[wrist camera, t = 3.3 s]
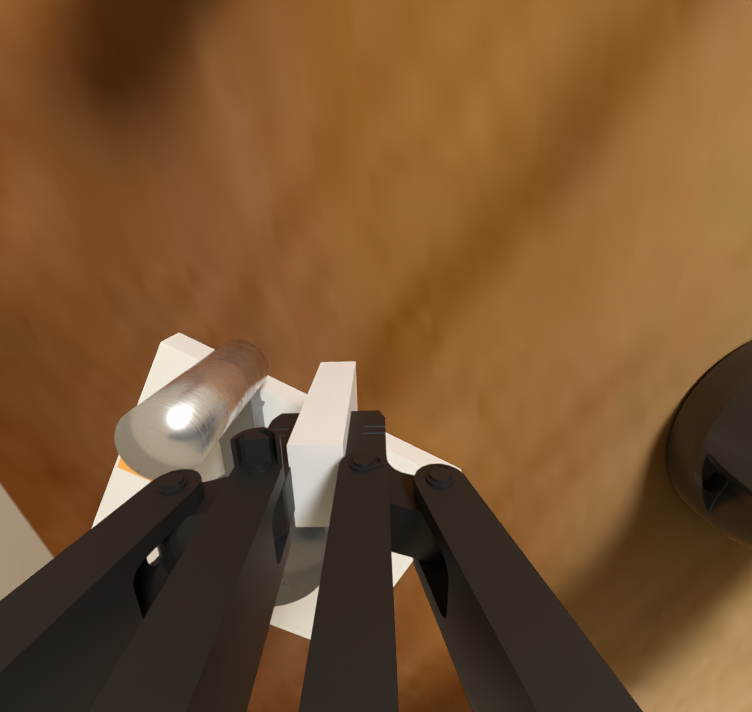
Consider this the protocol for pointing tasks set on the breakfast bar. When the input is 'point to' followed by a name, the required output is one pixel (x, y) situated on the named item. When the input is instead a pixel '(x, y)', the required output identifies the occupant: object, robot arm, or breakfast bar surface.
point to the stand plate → (275, 400)
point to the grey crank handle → (214, 439)
